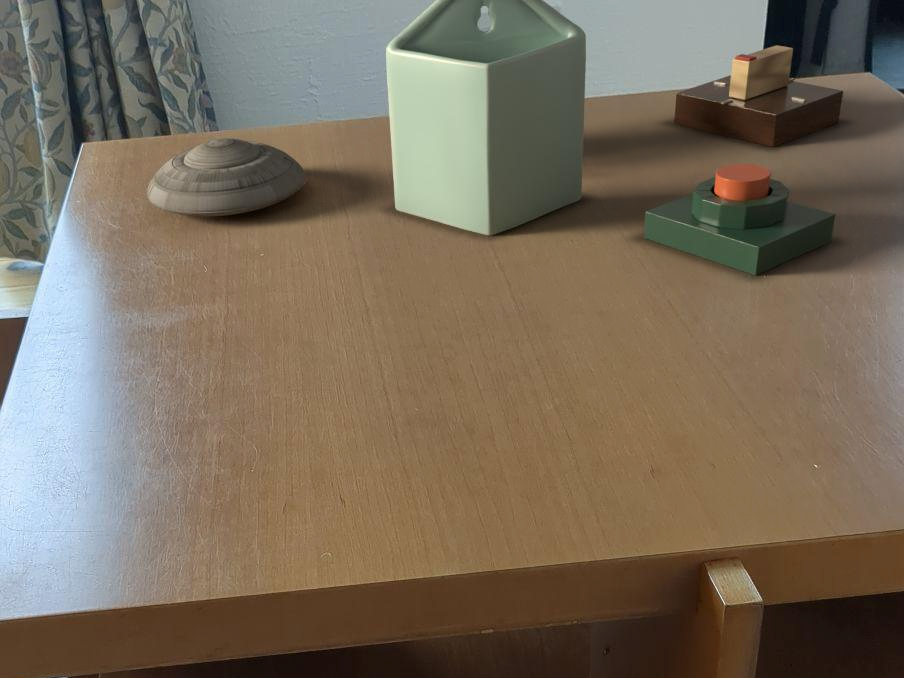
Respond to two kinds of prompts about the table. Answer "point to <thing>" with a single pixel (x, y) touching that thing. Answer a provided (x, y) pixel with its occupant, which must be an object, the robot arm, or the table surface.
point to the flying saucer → (225, 179)
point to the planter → (487, 113)
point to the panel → (759, 111)
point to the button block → (740, 227)
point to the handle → (760, 72)
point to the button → (742, 182)
